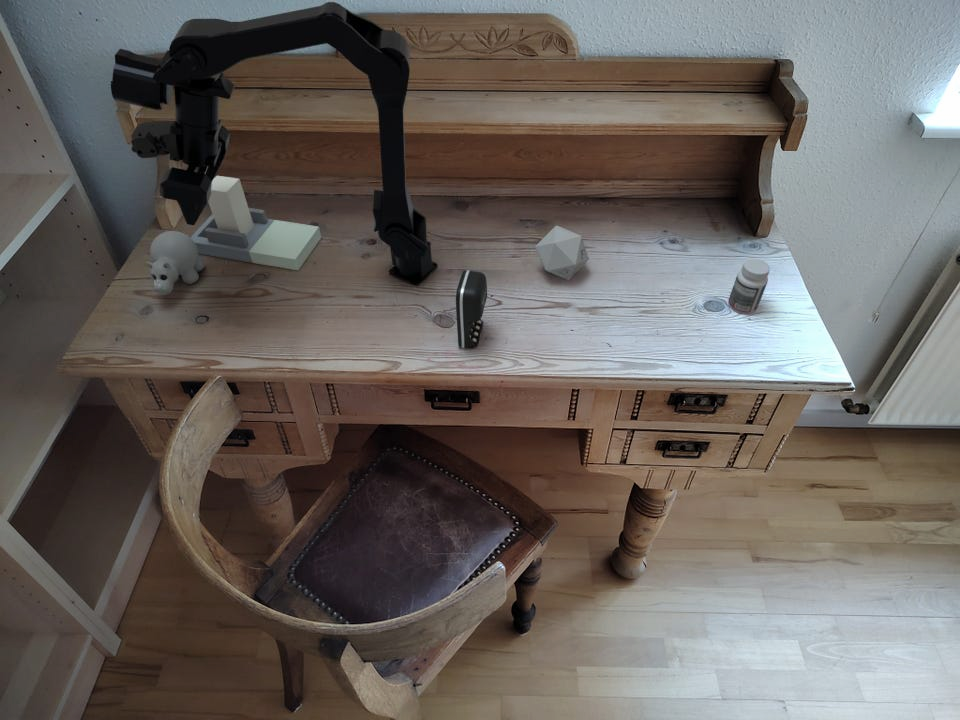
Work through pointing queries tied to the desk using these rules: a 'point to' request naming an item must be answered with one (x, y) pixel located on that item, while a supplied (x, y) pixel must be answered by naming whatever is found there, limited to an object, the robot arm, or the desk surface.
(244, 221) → the block
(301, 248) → the channel
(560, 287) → the desk surface
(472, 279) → the battery charger
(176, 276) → the grey rounded figurine
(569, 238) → the die
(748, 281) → the pill bottle
